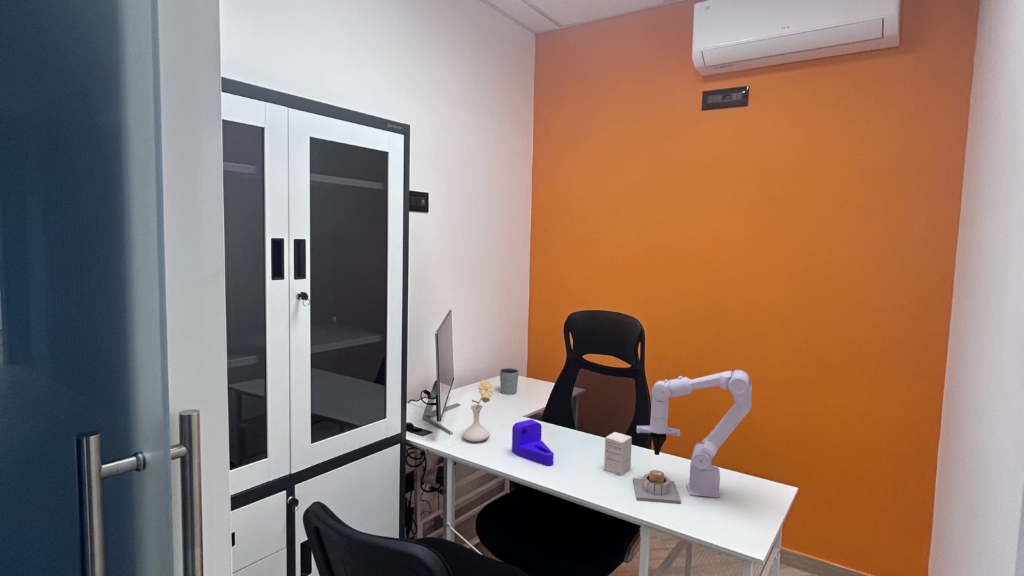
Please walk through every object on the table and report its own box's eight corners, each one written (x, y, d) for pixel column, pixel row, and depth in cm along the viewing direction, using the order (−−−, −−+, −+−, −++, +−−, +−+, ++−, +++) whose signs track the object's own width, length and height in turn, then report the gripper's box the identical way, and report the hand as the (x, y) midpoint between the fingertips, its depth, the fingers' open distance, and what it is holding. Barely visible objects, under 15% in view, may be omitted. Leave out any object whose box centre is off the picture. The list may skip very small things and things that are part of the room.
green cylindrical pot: (509, 388, 299) (509, 367, 297) (522, 392, 291) (522, 370, 290) (495, 392, 292) (495, 370, 291) (508, 396, 284) (508, 374, 283)
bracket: (511, 452, 215) (512, 423, 214) (534, 446, 221) (534, 418, 220) (539, 469, 200) (540, 438, 199) (562, 462, 206) (563, 432, 205)
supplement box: (613, 463, 206) (614, 431, 205) (631, 469, 202) (632, 436, 200) (603, 470, 201) (604, 436, 199) (621, 476, 196) (622, 442, 195)
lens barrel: (667, 483, 189) (668, 474, 188) (671, 496, 180) (672, 486, 179) (641, 481, 190) (641, 472, 189) (644, 494, 181) (644, 484, 181)
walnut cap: (662, 486, 187) (663, 470, 186) (664, 492, 182) (665, 476, 181) (648, 485, 187) (648, 469, 187) (649, 491, 183) (650, 475, 182)
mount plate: (673, 483, 191) (674, 481, 191) (680, 503, 177) (681, 500, 177) (632, 480, 193) (633, 477, 193) (636, 500, 179) (636, 497, 179)
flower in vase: (466, 445, 220) (467, 385, 218) (459, 435, 231) (459, 377, 228) (497, 441, 225) (498, 382, 222) (488, 431, 236) (489, 375, 233)
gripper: (678, 413, 192) (676, 450, 194) (636, 410, 194) (634, 447, 195) (682, 420, 185) (679, 459, 187) (638, 417, 187) (636, 455, 188)
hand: (656, 453), depth 191 cm, fingers closed
